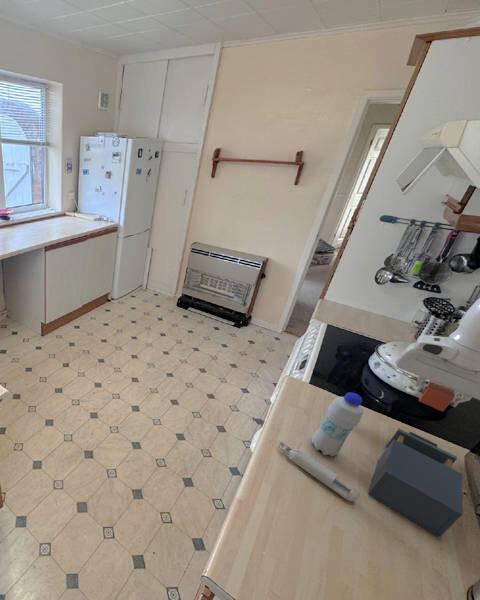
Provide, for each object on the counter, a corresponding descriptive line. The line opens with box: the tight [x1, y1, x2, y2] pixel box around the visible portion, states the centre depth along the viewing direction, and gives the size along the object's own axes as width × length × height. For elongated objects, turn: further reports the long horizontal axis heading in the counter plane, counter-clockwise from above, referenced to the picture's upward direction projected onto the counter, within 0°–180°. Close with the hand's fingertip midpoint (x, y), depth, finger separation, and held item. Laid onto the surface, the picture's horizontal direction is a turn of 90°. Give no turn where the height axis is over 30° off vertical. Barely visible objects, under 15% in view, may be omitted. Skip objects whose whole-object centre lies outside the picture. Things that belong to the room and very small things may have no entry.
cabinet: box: [367, 439, 463, 538], centre depth 77 cm, size 15×13×9 cm
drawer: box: [385, 428, 458, 469], centre depth 84 cm, size 18×11×7 cm, turn 132°
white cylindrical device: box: [277, 441, 360, 502], centre depth 81 cm, size 18×5×6 cm, turn 37°
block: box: [418, 380, 455, 413], centre depth 83 cm, size 5×5×5 cm
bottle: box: [311, 391, 364, 457], centre depth 86 cm, size 7×7×20 cm
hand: (434, 397), depth 84 cm, fingers closed on block, 4 cm apart
